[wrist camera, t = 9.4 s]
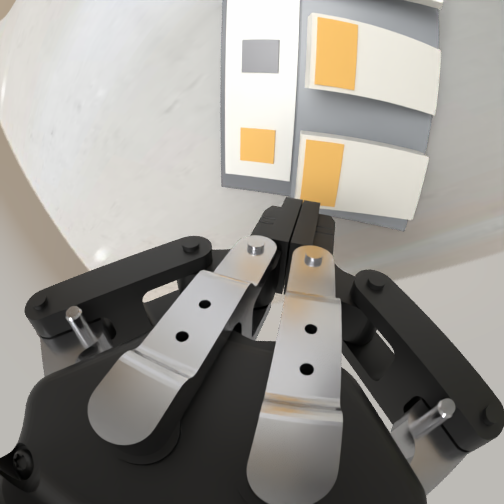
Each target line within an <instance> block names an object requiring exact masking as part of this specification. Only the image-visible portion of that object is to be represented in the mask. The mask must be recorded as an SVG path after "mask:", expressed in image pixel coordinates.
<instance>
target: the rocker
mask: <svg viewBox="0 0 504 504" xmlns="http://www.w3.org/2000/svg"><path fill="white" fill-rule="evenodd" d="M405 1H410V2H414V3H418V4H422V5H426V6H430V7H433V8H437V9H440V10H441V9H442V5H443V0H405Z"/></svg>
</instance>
